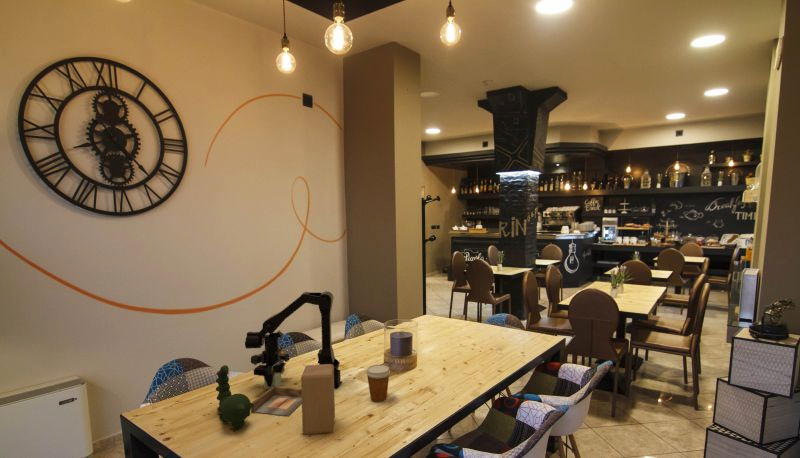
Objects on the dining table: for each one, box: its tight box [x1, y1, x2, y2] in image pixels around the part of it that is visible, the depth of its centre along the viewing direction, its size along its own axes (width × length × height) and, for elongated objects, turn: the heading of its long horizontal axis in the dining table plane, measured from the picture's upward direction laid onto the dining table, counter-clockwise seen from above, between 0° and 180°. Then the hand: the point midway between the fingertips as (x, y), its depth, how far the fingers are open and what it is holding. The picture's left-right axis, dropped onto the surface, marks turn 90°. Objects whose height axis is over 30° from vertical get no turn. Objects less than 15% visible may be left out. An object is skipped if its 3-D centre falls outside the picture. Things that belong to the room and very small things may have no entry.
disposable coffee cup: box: [365, 364, 391, 403], centre depth 156 cm, size 10×10×12 cm
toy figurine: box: [215, 365, 252, 430], centre depth 141 cm, size 9×19×25 cm
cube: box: [263, 372, 282, 390], centre depth 168 cm, size 5×5×5 cm
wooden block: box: [300, 364, 336, 435], centre depth 136 cm, size 10×10×20 cm
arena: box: [250, 385, 302, 417], centre depth 153 cm, size 15×15×4 cm
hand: (272, 383), depth 168 cm, fingers closed on cube, 5 cm apart
